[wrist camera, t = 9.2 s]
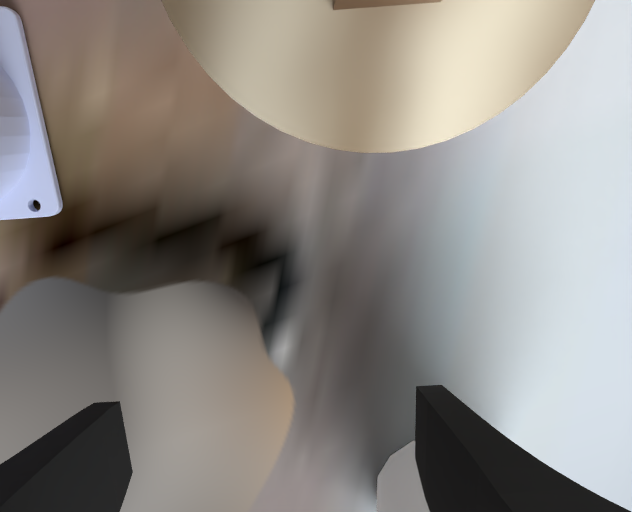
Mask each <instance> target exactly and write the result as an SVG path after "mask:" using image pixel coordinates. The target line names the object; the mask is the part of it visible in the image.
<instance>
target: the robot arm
mask: <svg viewBox="0 0 632 512" xmlns="http://www.w3.org/2000/svg"><path fill="white" fill-rule="evenodd" d="M34 200H37V201H38V202H39V203H40V205H41V209H40V210H37V209H36V208H35V207H34V205H33V201H34ZM62 207H63V204H62V198H61V194H60V189H59V185H58V180H57V176H56V172H55V167H54V163H53V158H52V154H51V149H50V145H49V140H48V136H47V131H46V127H45V123H44V118H43V114H42V109H41V105H40V100H39V96H38V91H37V87H36V82H35V78H34V74H33V69H32V65H31V60H30V56H29V51H28V47H27V42H26V38H25V34H24V29H23V25H22V21H21V18H20V16H19V15H18V14H17V12H16V11H14V10H12V9H10V8H8V7H5V6H0V220H7V219H21V218H34V217H47V216H53V215H56V214H58V213H59V212H60V211H61V210H62ZM415 460H416V464H417V468H418V472H419V476H420V481H421V484H422V488H423V492H424V496H425V499H426V502H427V505H428V508H429V510H430V512H631V511H629V510H627V509H625V508H623V507H621V506H619V505H617V504H615V503H613V502H611V501H609V500H607V499H605V498H603V497H601V496H599V495H597V494H595V493H594V492H592V491H590V490H588V489H586V488H584V487H583V486H581V485H579V484H578V483H576V482H574V481H572V480H571V479H569V478H567V477H566V476H564V475H562V474H561V473H559V472H557V471H556V470H554V469H552V468H551V467H549V466H548V465H546V464H544V463H543V462H541V461H540V460H538V459H537V458H535V457H534V456H532V455H531V454H530V453H528V452H527V451H525V450H524V449H522V448H521V447H519V446H518V445H517V444H515V443H514V442H512V441H511V440H510V439H508V438H507V437H506V436H504V435H503V434H502V433H500V432H499V431H498V430H496V429H495V428H494V427H492V426H491V425H490V424H489V423H487V422H486V421H485V420H484V419H482V418H481V417H480V416H479V415H477V414H476V413H475V412H474V411H472V410H471V409H470V408H469V407H468V406H466V405H465V404H464V403H463V402H462V401H460V400H459V399H458V398H457V397H456V396H454V395H453V394H452V393H451V392H450V391H448V390H447V389H446V388H444V387H443V386H442V385H433V386H416V431H415ZM131 476H132V467H131V461H130V455H129V450H128V444H127V439H126V433H125V428H124V422H123V417H122V411H121V406H120V402H100V403H93V404H92V405H90V406H88V407H86V408H85V409H83V410H81V411H80V412H78V413H77V414H75V415H74V416H72V417H71V418H69V419H68V420H66V421H65V422H63V423H62V424H61V425H59V426H57V427H56V428H54V429H53V430H52V431H50V432H49V433H47V434H46V435H44V436H43V437H41V438H40V439H38V440H37V441H35V442H34V443H32V444H31V445H29V446H28V447H27V448H25V449H23V450H22V451H20V452H19V453H17V454H16V455H14V456H13V457H11V458H10V459H8V460H7V461H5V462H4V463H2V464H0V512H119V511H120V509H121V506H122V503H123V500H124V497H125V495H126V491H127V488H128V485H129V482H130V479H131Z"/></svg>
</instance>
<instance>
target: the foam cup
mask: <svg viewBox="0 0 632 512" xmlns="http://www.w3.org/2000/svg"><path fill="white" fill-rule="evenodd" d="M377 512H430V510H429V508H428V505H427V502H426V499H425V496H424V492H423V488H422V484H421V481H420V476H419V472H418V468H417V464H416V460H415V441H412V442H410V443H409V444H407V445H406V446H404V447H403V448H401V449H400V450H398V451H397V452H395V453H394V454H392V455H391V456H390V457H389V459H388V460H387V462H386V464H385V465H384V467H383V468H382V470H381V472H380V473H379V475H378V477H377Z"/></svg>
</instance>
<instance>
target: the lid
mask: <svg viewBox="0 0 632 512" xmlns="http://www.w3.org/2000/svg"><path fill="white" fill-rule="evenodd" d="M161 1H162V3H163V5H164V7H165V9H166V11H167V14H168V16H169V18H170V20H171V22H172V24H173V25H174V27H175V29H176V30H177V32H178V33H179V35H180V37H181V38H182V40H183V42H184V43H185V45H186V46H187V48H188V50H189V51H190V52H191V54H192V55H193V56H194V57H195V59H196V60H197V61H198V63H199V64H200V65H201V66H202V68H203V69H204V70H205V71H206V73H207V74H208V75H209V76H210V77H211V78H212V79H213V80H214V81H215V82H216V83H217V84H218V85H219V86H220V87H221V88H222V89H223V90H224V91H225V92H226V93H227V94H228V95H229V96H230V97H231V98H232V99H233V100H235V101H236V102H237V103H239V104H240V105H241V106H243V107H244V108H245V109H247V110H248V111H249V112H250V113H252V114H253V115H254V116H256V117H257V118H259V119H261V120H263V121H264V122H266V123H268V124H270V125H271V126H273V127H275V128H277V129H278V130H280V131H282V132H284V133H287V134H289V135H292V136H294V137H296V138H299V139H301V140H304V141H306V142H309V143H313V144H317V145H320V146H324V147H328V148H332V149H336V150H344V151H352V152H360V153H391V152H398V151H405V150H412V149H419V148H422V147H426V146H429V145H433V144H437V143H440V142H444V141H447V140H449V139H451V138H454V137H456V136H458V135H461V134H463V133H466V132H468V131H470V130H473V129H474V128H476V127H478V126H479V125H481V124H483V123H485V122H486V121H488V120H490V119H491V118H493V117H495V116H497V115H498V114H500V113H501V112H502V111H504V110H505V109H506V108H508V107H509V106H510V105H512V104H513V103H514V102H515V101H517V100H518V99H519V98H521V97H522V96H523V95H524V94H525V93H526V92H527V91H528V90H529V89H531V88H532V87H533V86H534V85H535V84H536V83H537V82H538V81H539V80H540V79H541V78H542V77H543V76H544V75H545V74H546V73H547V72H548V70H549V69H550V68H551V67H552V66H553V64H554V63H555V62H556V61H557V60H558V58H559V57H560V56H561V55H562V53H563V52H564V51H565V50H566V49H567V47H568V45H569V44H570V42H571V41H572V39H573V38H574V36H575V35H576V33H577V32H578V30H579V29H580V27H581V26H582V24H583V23H584V21H585V19H586V17H587V15H588V13H589V11H590V9H591V7H592V5H593V3H594V1H595V0H161Z"/></svg>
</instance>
